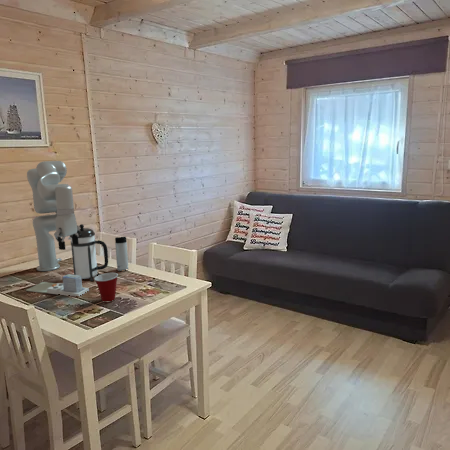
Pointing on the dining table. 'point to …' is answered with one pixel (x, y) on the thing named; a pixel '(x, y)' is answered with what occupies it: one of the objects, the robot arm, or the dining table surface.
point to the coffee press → (87, 254)
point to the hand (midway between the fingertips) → (69, 246)
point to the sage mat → (41, 287)
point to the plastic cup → (107, 285)
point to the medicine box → (72, 283)
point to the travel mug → (121, 253)
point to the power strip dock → (59, 289)
